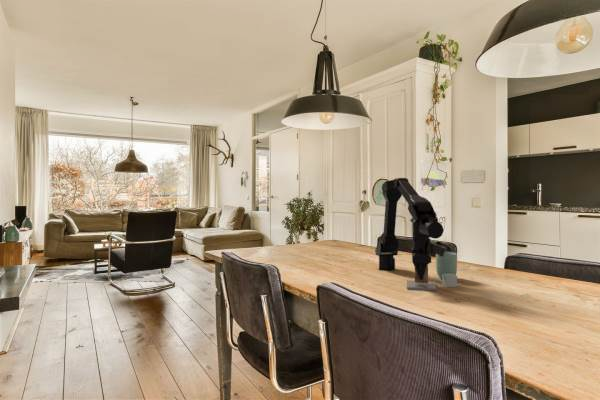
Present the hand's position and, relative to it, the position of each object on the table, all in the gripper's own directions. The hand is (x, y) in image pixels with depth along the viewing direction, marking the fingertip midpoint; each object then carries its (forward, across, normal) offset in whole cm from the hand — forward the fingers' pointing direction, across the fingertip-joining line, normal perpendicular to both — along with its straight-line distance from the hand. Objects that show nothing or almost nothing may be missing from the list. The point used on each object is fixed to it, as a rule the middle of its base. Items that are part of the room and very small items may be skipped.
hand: (421, 277), depth 133 cm
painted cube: (+3, +4, -10) cm, 11 cm away
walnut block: (+1, 0, 0) cm, 1 cm away
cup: (+4, +15, -10) cm, 18 cm away
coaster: (+3, 0, 0) cm, 3 cm away
